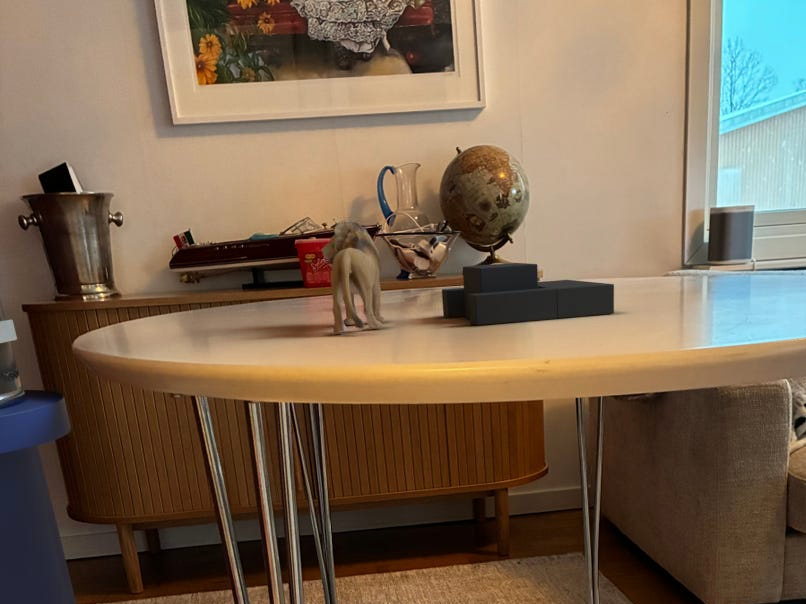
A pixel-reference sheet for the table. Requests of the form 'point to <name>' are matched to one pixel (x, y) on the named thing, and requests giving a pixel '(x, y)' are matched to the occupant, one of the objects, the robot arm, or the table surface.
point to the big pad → (532, 302)
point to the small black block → (498, 279)
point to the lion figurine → (354, 275)
